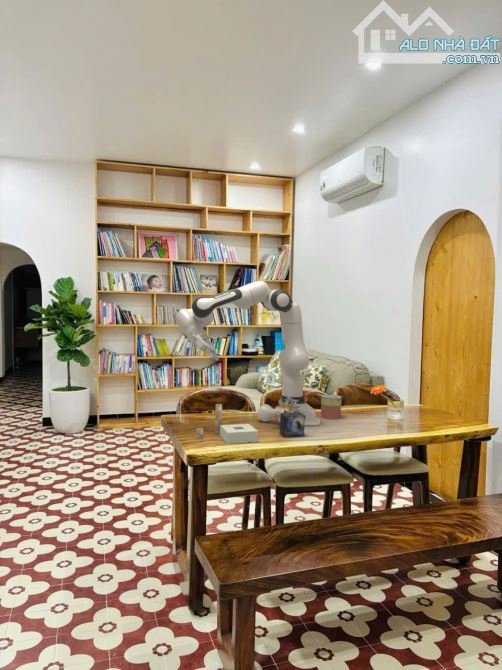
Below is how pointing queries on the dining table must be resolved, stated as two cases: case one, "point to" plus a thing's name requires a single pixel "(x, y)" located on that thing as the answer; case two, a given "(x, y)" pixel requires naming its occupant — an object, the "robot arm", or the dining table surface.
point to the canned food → (331, 407)
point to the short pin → (199, 433)
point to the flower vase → (277, 409)
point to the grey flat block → (238, 433)
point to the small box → (292, 424)
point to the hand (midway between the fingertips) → (214, 358)
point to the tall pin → (218, 418)
